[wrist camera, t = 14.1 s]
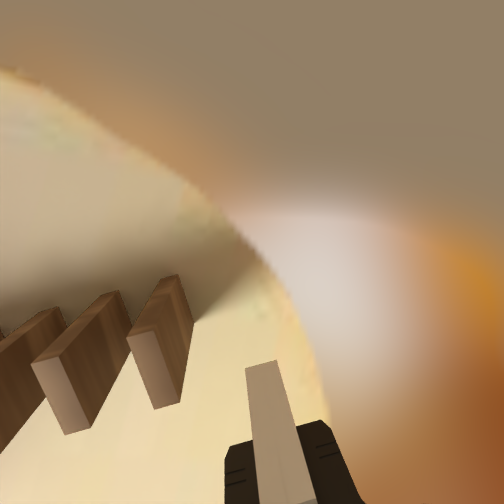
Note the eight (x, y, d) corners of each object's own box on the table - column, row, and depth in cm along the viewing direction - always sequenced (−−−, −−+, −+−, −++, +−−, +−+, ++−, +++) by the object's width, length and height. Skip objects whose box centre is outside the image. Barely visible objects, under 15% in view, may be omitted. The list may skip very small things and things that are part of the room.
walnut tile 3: (62, 359, 30) (-27, 461, 19) (40, 311, 29) (-67, 391, 18) (79, 355, 30) (0, 453, 19) (58, 306, 29) (-39, 383, 18)
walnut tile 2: (120, 343, 30) (64, 435, 19) (101, 295, 29) (30, 364, 18) (136, 339, 30) (90, 427, 19) (118, 290, 29) (58, 356, 18)
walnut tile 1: (177, 327, 30) (154, 409, 19) (160, 278, 29) (126, 337, 18) (194, 323, 30) (179, 402, 20) (178, 274, 29) (153, 330, 18)
